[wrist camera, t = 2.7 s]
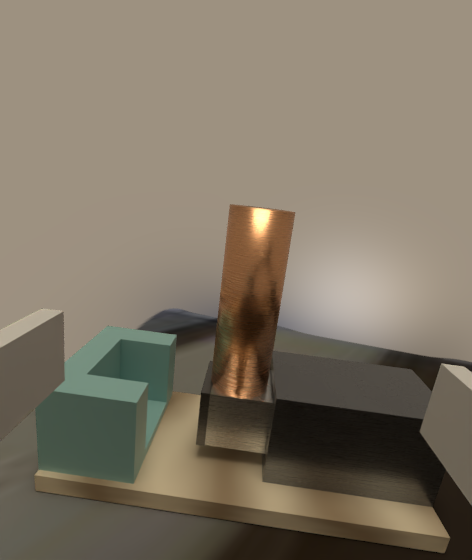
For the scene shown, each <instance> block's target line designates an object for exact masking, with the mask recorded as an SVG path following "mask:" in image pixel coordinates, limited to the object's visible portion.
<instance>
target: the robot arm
mask: <svg viewBox="0 0 472 560" xmlns="http://www.w3.org/2000/svg"><path fill="white" fill-rule="evenodd" d="M63 321H64V315H63V311H58V310H50V309H43V308H42V309H40V310H38V311H36V312H34V313H32V314H30V315H28V316H26V317H24V318H22V319H20V320H18V321H16V322H14V323H12V324H10V325H8V326H6V327H4V328H2V329H0V441H1V440H2V439H3V438H4V437H5V436H6V435H8V434H9V433H10V432H11V431H12V430H13V429H14V428H15V427H16V426H17V425H18V424H19V423H20V422H21V421H22V420H23V419H24V418H26V417H27V416H28V415H29V414H30V413H31V412H32V411H33V410H34V409H35V408H36V407H37V406H38V405H39V404H40V403H41V402H42V401H44V400H45V399H46V398H47V397H48V396H49V395H50V394H51V393H52V392H53V391H54V390H55V389H56V388H57V387H58V386H59V385H60V384H62V383H63V382H64V381H65V368H64V322H63ZM420 433H421V435H422V436H423V437H424V439H425V440H426V442H427V443H428V445H429V446H430V447H431V449H432V450H433V452H434V453H435V454H436V456H437V457H438V459H439V460H440V462H441V463H442V464H443V466H444V467H445V469H446V470H447V471H448V473H449V474H450V476H451V477H452V478H453V480H454V481H455V483H456V484H457V486H458V487H459V488H460V490H461V491H462V493H463V494H464V495H465V497H466V498H467V500H468V501H469V503H470V504H471V505H472V373H471V372H470V371H469V370H468V369H466V368H465V367H462V366H455V365H448V364H441V366H440V369H439V373H438V376H437V379H436V382H435V385H434V388H433V391H432V394H431V398H430V401H429V404H428V407H427V410H426V413H425V416H424V419H423V423H422V426H421V429H420Z"/></svg>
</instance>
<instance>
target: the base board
mask: <svg viewBox="0 0 472 560" xmlns="http://www.w3.org/2000/svg"><path fill="white" fill-rule="evenodd" d="M200 398H201V395H194V394H187V393H180V392H172V396H171V398H170V401H169V403H168V405H167V408H166V410H165V412H164V415H163V417H162V419H161V422H160V424H159V426H158V429H157V431H156V433H155V435H154V438H153V440H152V442H151V445H150V447H149V449H148V452H147V454H146V456H145V459H144V461H143V463H142V466H141V468H140V470H139V473H138V475H137V477H136V480H135V482H134V484H131V483H124V482H117V481H111V480H104V479H97V478H91V477H84V476H78V475H71V474H64V473H58V472H51V471H44V470H38V471H37V473H36V474H35V491H41V492H47V493H54V494H60V495H67V496H73V497H80V498H86V499H93V500H100V501H106V502H113V503H119V504H126V505H132V506H139V507H145V508H152V509H158V510H165V511H171V512H178V513H184V514H191V515H198V516H204V517H211V518H217V519H224V520H230V521H237V522H243V523H250V524H256V525H263V526H269V527H276V528H282V529H289V530H296V531H302V532H309V533H315V534H322V535H328V536H335V537H341V538H348V539H354V540H361V541H367V542H374V543H380V544H387V545H394V546H400V547H407V548H413V549H420V550H426V551H433V552H439V553H445V550H446V548H447V545H448V542H449V540H450V537H449V535H448V533H447V532H446V530H445V528H444V526H443V525H442V523H441V521H440V519H439V518H438V516H437V514H436V512H435V511H434V509H433V507H428V506H421V505H414V504H407V503H401V502H394V501H387V500H380V499H374V498H367V497H360V496H354V495H347V494H340V493H333V492H327V491H320V490H313V489H306V488H300V487H293V486H286V485H280V484H273V483H266V482H262V453H256V452H249V451H242V450H236V449H229V448H222V447H215V446H208V445H205V446H200V445H196V438H197V428H198V418H199V408H200Z"/></svg>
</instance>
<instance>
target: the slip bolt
mask: <svg viewBox="0 0 472 560" xmlns="http://www.w3.org/2000/svg"><path fill="white" fill-rule="evenodd" d="M294 217H295V212H290V211H284V210H277V209H269V208H261V207H252V206H243V205H230V209H229V218H228V227H227V237H226V246H225V256H224V265H223V274H222V283H221V292H220V303H219V311H218V320H217V329H216V339H215V348H214V357H213V361H210V363H209V366H208V370H207V373H206V377H205V380H204V384H203V387H202V391H201V398H200V408H199V418H198V428H197V438H196V445H200V446H205V445H208V446H215V447H222V448H229V449H236V450H242V451H249V452H256V453H263V454H265V452H266V446H267V440H268V434H269V428H270V422H271V416H272V410H273V404H274V397H273V385H272V374H271V370H270V366H271V360H272V354H273V348H274V342H275V335H276V329H277V323H278V316H279V310H280V304H281V298H282V292H283V285H284V279H285V272H286V267H287V260H288V254H289V248H290V241H291V235H292V229H293V223H294Z"/></svg>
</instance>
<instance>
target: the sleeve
mask: <svg viewBox="0 0 472 560" xmlns="http://www.w3.org/2000/svg"><path fill="white" fill-rule="evenodd" d="M270 370H271V374H272V385H273V397H274V404H273V410H272V416H271V422H270V428H269V434H268V440H267V446H266V452H265V454H263V453H262V482H266V483H273V484H280V485H286V486H293V487H300V488H306V489H313V490H320V491H327V492H333V493H340V494H347V495H354V496H360V497H367V498H374V499H380V500H387V501H394V502H401V503H407V504H414V505H421V506H428V507H433V504H434V502H435V499H436V496H437V493H438V490H439V488H440V485H441V482H442V479H443V476H444V473H445V471H446V469H445V467H444V466H443V464H442V463H441V462H440V460H439V459H438V457H437V456H436V454H435V453H434V452H433V450H432V449H431V447H430V446H429V445H428V443H427V442H426V440H425V439H424V437H423V436H422V435H421V433H420V429H421V426H422V423H423V419H424V416H425V413H426V410H427V407H428V404H429V401H430V398H431V394H432V391H431V390H430V389H429V388H428V387H427V386H426V385H425V384H424V383H423V382H422V380H421V379H420V378H419V377H418V376H417V375H416V374H415V373H414V372H413V371H412V370H411V369H404V368H396V367H389V366H381V365H374V364H367V363H359V362H352V361H344V360H337V359H330V358H322V357H315V356H307V355H300V354H293V353H285V352H278V351H273V354H272V360H271V366H270Z"/></svg>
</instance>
